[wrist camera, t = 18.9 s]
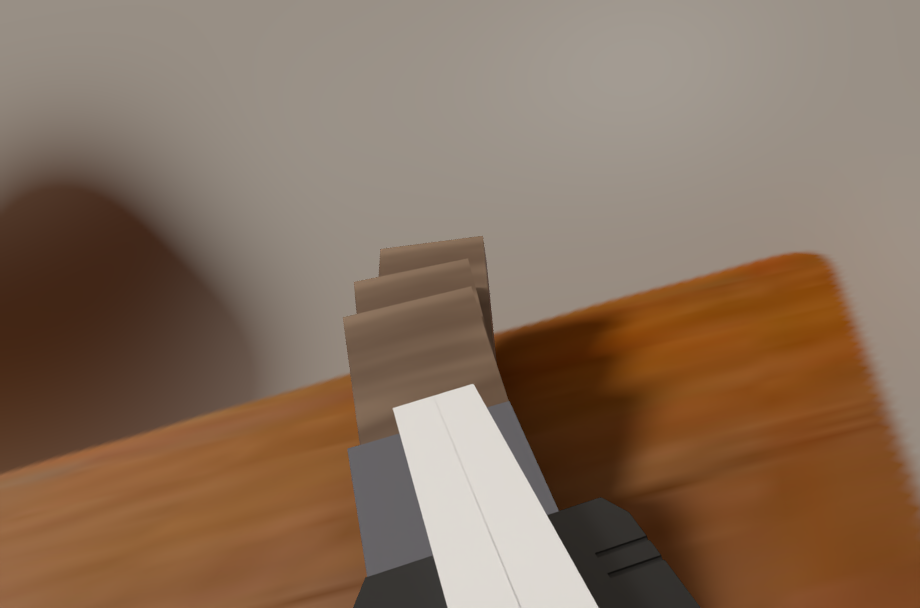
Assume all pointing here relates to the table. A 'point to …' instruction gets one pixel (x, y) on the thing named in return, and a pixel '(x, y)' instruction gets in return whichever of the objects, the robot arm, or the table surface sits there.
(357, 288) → the walnut domino
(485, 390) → the walnut domino
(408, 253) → the walnut domino
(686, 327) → the table surface
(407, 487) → the black domino
